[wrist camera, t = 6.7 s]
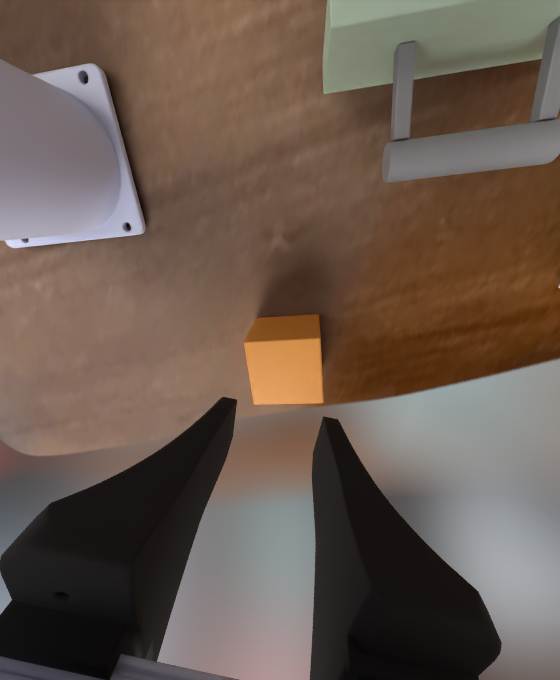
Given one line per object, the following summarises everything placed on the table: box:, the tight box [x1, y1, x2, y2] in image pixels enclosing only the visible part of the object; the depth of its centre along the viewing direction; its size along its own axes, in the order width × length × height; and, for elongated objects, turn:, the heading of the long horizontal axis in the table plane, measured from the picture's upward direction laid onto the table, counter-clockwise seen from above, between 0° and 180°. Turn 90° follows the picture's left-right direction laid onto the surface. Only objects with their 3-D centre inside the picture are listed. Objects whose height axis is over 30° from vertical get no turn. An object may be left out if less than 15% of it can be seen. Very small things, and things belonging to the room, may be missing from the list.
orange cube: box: [244, 314, 324, 405], centre depth 18 cm, size 4×4×4 cm
